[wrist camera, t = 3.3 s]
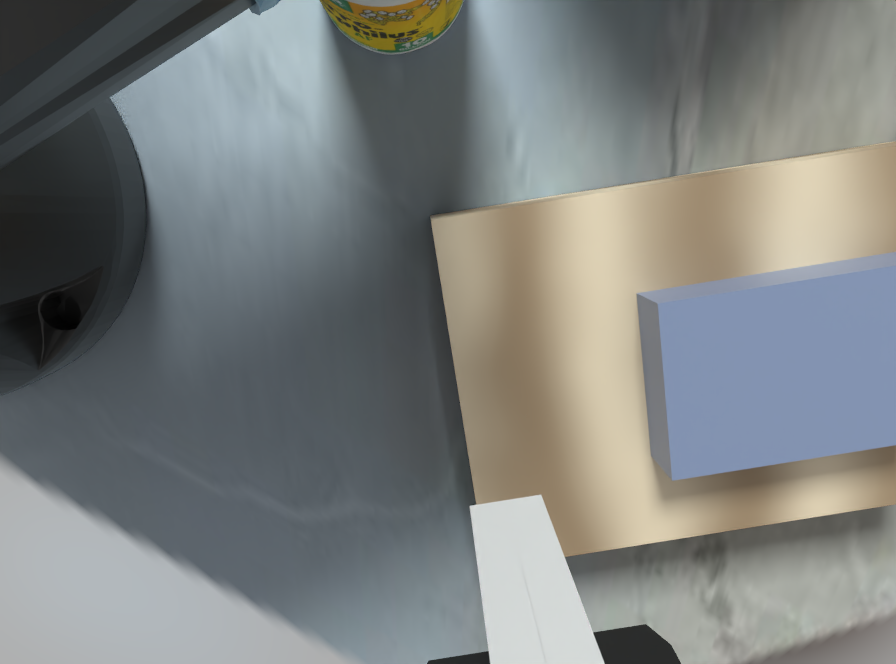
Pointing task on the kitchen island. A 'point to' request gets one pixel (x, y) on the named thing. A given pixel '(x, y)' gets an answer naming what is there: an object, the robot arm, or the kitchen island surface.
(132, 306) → the kitchen island surface
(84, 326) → the robot arm
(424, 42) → the supplement bottle
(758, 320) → the flat periwinkle box
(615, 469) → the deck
